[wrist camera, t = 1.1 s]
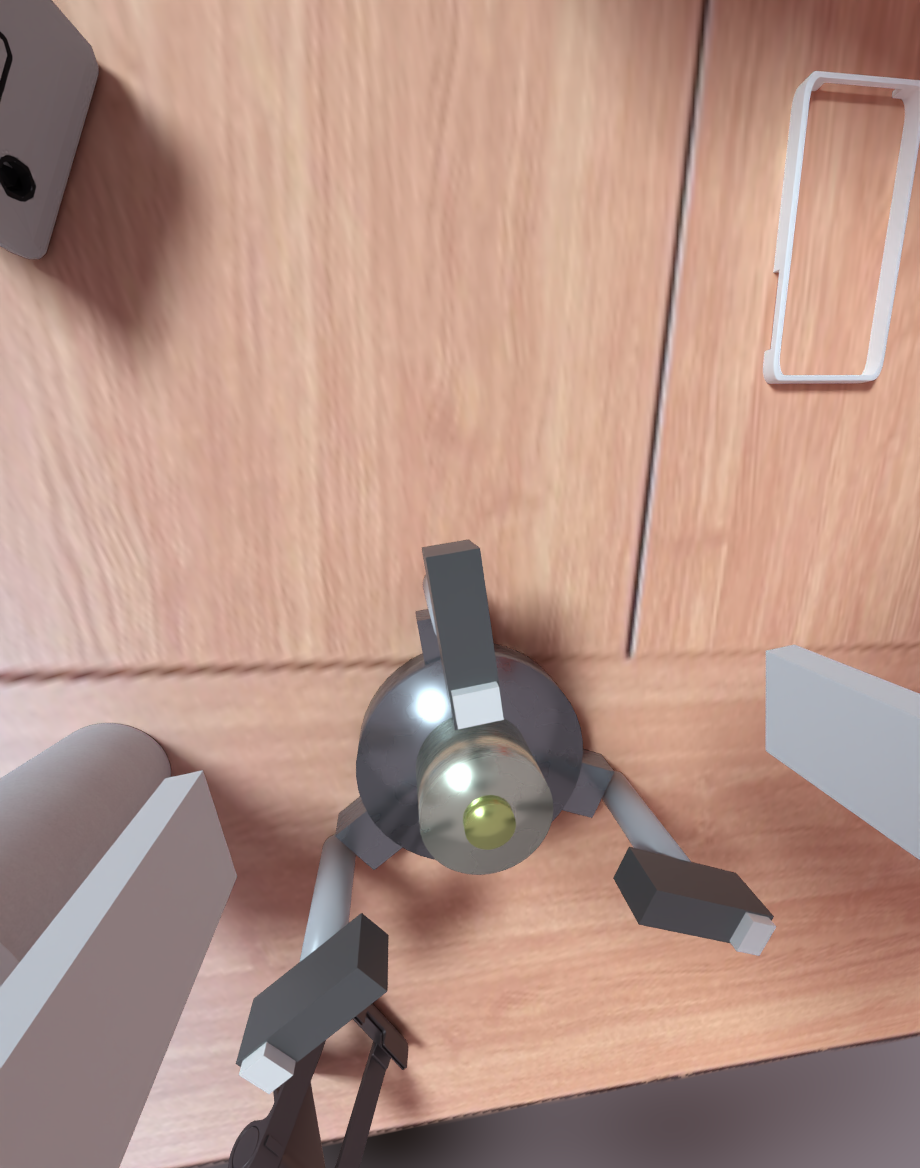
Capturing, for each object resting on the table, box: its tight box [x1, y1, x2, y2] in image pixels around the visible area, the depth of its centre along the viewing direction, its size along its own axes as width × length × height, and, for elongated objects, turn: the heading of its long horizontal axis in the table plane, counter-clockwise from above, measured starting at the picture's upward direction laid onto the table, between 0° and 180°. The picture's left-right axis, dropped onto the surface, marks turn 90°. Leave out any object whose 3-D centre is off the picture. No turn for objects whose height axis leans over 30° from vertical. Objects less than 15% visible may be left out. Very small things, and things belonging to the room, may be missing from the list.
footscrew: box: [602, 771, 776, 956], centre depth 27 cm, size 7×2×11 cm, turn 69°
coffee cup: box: [0, 723, 171, 987], centre depth 20 cm, size 10×10×15 cm
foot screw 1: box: [236, 835, 388, 1094], centre depth 25 cm, size 7×2×11 cm, turn 129°
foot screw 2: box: [422, 540, 504, 730], centre depth 22 cm, size 7×2×11 cm, turn 8°
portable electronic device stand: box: [228, 1004, 408, 1168], centre depth 30 cm, size 9×8×8 cm
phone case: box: [763, 71, 920, 384], centre depth 26 cm, size 7×1×15 cm
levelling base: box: [335, 609, 614, 875], centre depth 26 cm, size 18×16×8 cm
